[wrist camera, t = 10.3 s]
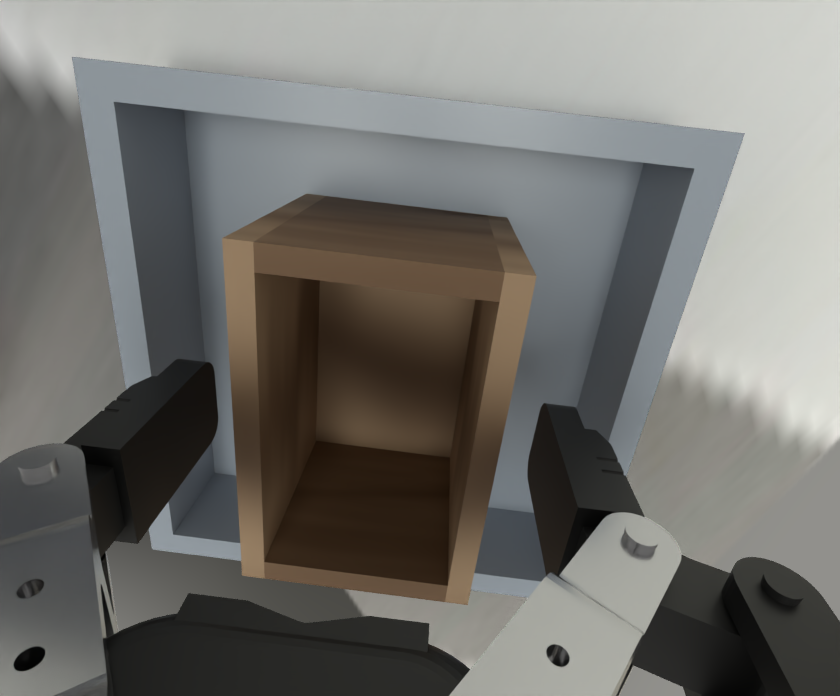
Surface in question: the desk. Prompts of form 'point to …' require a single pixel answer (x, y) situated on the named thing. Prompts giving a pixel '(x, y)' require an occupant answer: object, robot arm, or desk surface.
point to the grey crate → (412, 186)
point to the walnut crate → (371, 390)
